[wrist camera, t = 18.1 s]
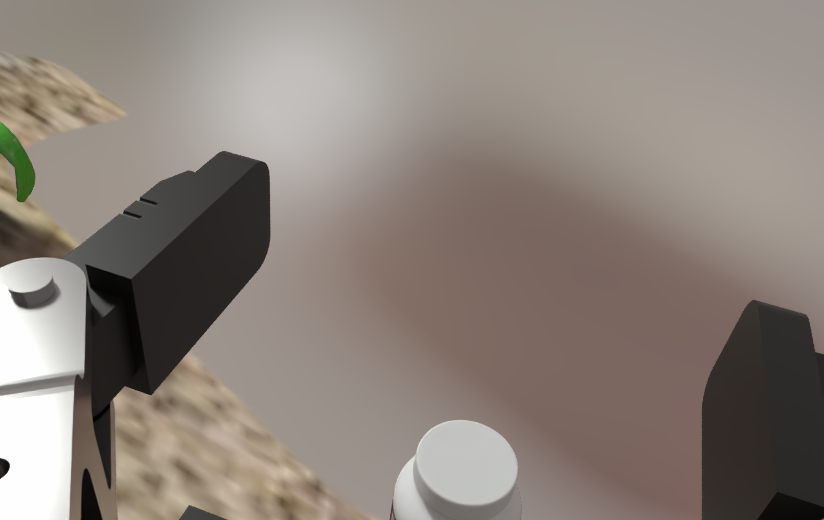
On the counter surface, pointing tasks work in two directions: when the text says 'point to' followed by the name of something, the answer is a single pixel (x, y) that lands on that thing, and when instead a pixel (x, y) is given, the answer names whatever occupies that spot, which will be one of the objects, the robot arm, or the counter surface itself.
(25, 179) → the snack cup
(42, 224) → the counter surface
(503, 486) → the pill bottle
